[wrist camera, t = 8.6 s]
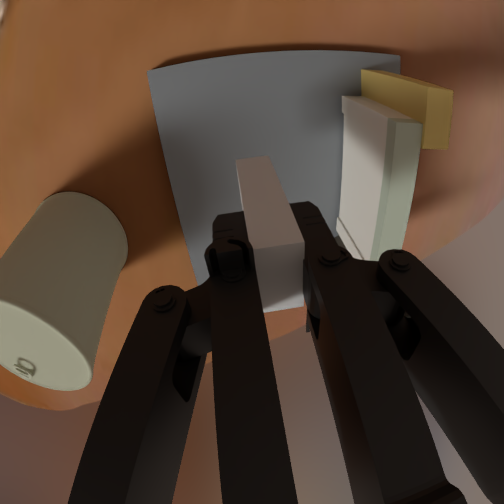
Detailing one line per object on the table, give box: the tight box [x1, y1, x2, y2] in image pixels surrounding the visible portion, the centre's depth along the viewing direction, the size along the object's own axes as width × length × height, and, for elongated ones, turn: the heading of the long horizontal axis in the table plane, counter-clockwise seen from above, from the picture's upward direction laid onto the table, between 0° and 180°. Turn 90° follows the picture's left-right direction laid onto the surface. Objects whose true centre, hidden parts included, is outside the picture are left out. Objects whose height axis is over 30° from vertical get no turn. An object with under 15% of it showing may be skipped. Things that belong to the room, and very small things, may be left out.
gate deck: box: [147, 50, 453, 286], centre depth 17 cm, size 17×16×11 cm
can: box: [0, 192, 128, 391], centre depth 18 cm, size 9×9×12 cm
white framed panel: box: [336, 96, 423, 261], centre depth 17 cm, size 10×2×7 cm, turn 4°
